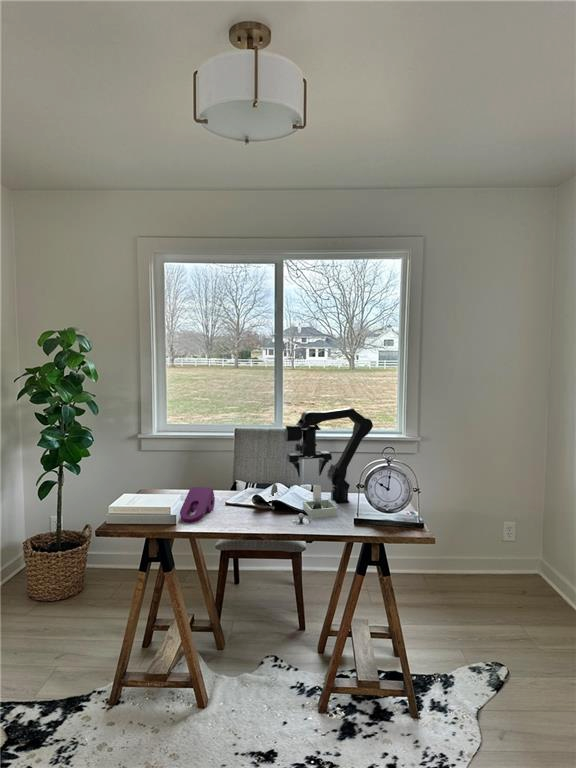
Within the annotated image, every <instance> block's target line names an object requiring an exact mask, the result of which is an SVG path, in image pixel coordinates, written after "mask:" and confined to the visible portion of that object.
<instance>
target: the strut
mask: <svg viewBox="0 0 576 768" xmlns="http://www.w3.org/2000/svg"><path fill="white" fill-rule="evenodd" d="M321 500H322V485H321V484H312V501H313V506H311V509H322V508H324V507H322V506H321Z"/></svg>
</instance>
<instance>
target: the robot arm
mask: <svg viewBox="0 0 576 768" xmlns="http://www.w3.org/2000/svg"><path fill="white" fill-rule="evenodd" d="M346 418H348V419H349V420H350V421H351V422H353V423H354V424H353V426H352V434H351V436H350V438H349V440H348V442H347V444H346V446H345V448H344V450H343V452H342V453H341V455H340V457H339V459H338V461H337V462H336V464H333V463H332V464H330V466H329V469H327V471H326V473H327V480H328V481H329V482H330V483H331V485H332V487H331V490H330V501H331V502H332V501H333V502H334V503H335V504H345V503H350V500H349V488H350V486H351V485H350V483H348V482H347V480H346V477H347V472H348V467H349V465H350V463H351V461H352V459H353V457H354V455H355V454H356V452H357V450H358V447H359V446H360V444H361V442H362V440H363V439H364V438H365V437H366V436H368V434H369V433H370V432H371V431H372V429H373V428H374V424H373V421H372V420H371V419H370V418H367V417H364V416H363V415H362V414H360V413H359V412H358V411H356V410H355V409H354V408H352V407H346V408H338V409H331V410H324V411H322V410H321V411H319V410H304V411H303V412H302V413H301V416H300V419H299V420H298V422H297V423H296V424H295V425H289V424H288V425H285V429H284V440H285V442H286V443H287V442H290V443H291V442H300V441H301V440H302V442H301V444H300V443H296V444H295V445H294V449H295V451H294V452H290V453H286V460H287V462H289V463H291V465H293V467H294V469H295V472H296V474H297V477H298V478H300V477H301V471H300V470H301V468H300V467H301V466H300V461H299V460H311V459H312V460H314V459H318V477H321V475H322V473H323V471H324V469H325V467H326V464H328V463H329V462H330V461H331V460H332V459H333V456H332V453H331V452H329V451H328V450H324V451H323V450H321V451H319V453H317V446H318V445H317V440H316V439H317V438H316V437H317V431H321V427H320V426H319V425H318V424H320V423H323V422H326V421H331V420H340V419H346ZM298 452H299V454H297V453H298Z"/></svg>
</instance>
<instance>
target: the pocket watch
mask: <svg viewBox="0 0 576 768" xmlns="http://www.w3.org/2000/svg"><path fill="white" fill-rule="evenodd" d="M275 482H276V478H275V479H274V480H273V482H272V484H273V485H272V486H271V490H270V491H271V492H270V495H272V496H274V493H276V492H277V493H278V484H276V483H275Z"/></svg>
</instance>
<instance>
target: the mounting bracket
mask: <svg viewBox="0 0 576 768" xmlns="http://www.w3.org/2000/svg"><path fill="white" fill-rule="evenodd" d="M213 488H214V487H207V486H206V487H204V486H203V487H202V486H191V487H190V489H189V490H188V492H187V495H186V497H185V500H184V502H183V504H182V506H181V508H180V510H179V514H180V519H181V521H183V522H184V523H192V524H193V523H197V522H199V521H200V520H202V519H203V517H204V516H205V514H206V513H212V512H213V511H214V507H215V499H216V498H215V492H214V489H213ZM211 511H212V512H211ZM190 512H194V513H193V515H190Z"/></svg>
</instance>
